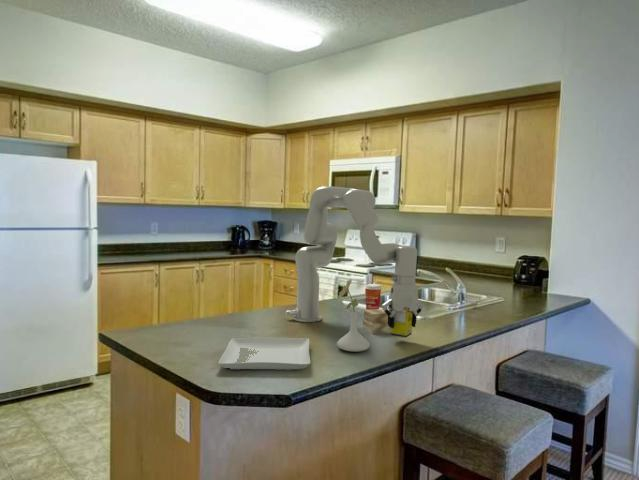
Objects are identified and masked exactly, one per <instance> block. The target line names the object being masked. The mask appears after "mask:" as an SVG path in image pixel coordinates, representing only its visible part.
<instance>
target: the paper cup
mask: <svg viewBox="0 0 639 480" xmlns="http://www.w3.org/2000/svg"><path fill="white" fill-rule="evenodd" d="M364 289H365V310H370V309H380V306H381V305H380V304H381V303H380V302H381V293H382V289H383V288H382V286H381V284H377V283H367V284H366V285H365V287H364Z"/></svg>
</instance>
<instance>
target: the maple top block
mask: <svg viewBox="0 0 639 480" xmlns="http://www.w3.org/2000/svg"><path fill="white" fill-rule="evenodd" d="M363 311H364V312H363V319H364V320H366V321H368V322H370V323H371V324H383V323H388V315H387V314H386V313H385V312H384V310H383V308H379V309H370V310H366V309H363Z"/></svg>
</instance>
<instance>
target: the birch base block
mask: <svg viewBox="0 0 639 480" xmlns="http://www.w3.org/2000/svg"><path fill="white" fill-rule="evenodd" d="M362 329H364V330H365V331H366V330H367V331H366V332H369V333H370V334H371V333H372V334H371V335H375V334H374V333H378V334H391V327H389V326H388V323H383V324H371V323H370V322H368V321H366V320H364V318H363V319H362Z"/></svg>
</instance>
